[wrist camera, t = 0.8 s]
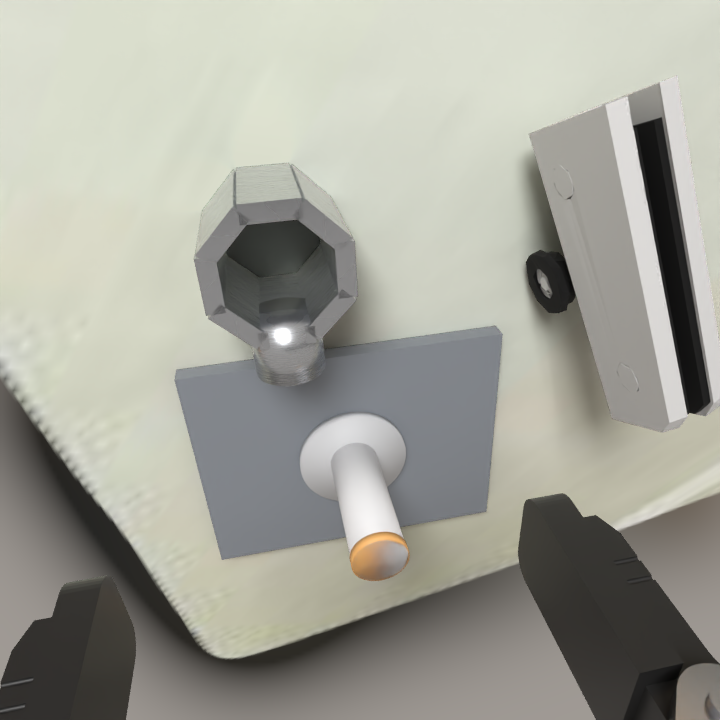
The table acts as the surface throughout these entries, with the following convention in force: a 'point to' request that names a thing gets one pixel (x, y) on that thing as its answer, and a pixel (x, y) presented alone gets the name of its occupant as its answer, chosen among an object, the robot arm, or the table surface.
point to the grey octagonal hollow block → (278, 292)
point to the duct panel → (349, 381)
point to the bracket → (632, 254)
